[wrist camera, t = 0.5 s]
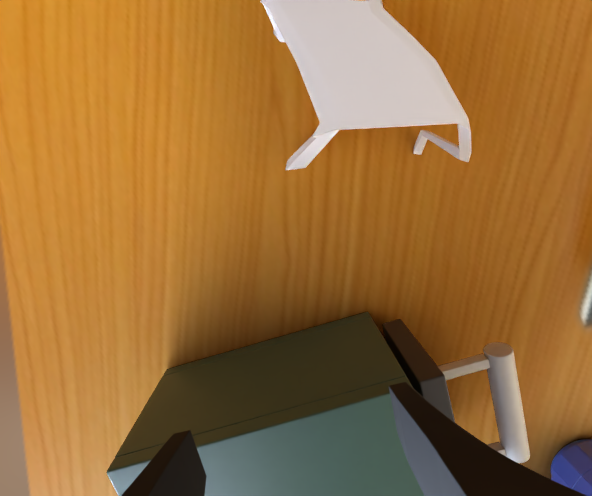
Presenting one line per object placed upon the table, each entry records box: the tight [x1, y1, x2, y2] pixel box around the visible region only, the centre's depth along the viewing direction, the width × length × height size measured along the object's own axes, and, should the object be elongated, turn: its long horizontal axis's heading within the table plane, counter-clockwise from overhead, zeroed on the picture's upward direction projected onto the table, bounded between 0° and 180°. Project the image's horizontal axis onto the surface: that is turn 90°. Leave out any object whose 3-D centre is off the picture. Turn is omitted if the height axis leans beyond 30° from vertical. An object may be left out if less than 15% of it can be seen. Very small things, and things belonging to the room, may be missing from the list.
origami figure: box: [261, 0, 472, 170], centre depth 17 cm, size 12×8×5 cm
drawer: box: [382, 319, 530, 463], centre depth 19 cm, size 17×10×6 cm, turn 106°
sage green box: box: [107, 312, 424, 496], centre depth 19 cm, size 14×12×8 cm
